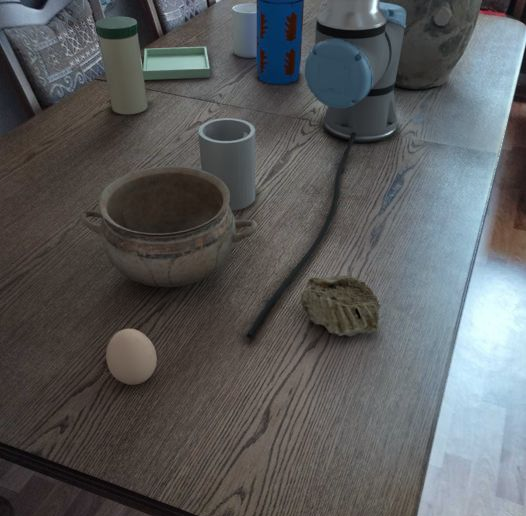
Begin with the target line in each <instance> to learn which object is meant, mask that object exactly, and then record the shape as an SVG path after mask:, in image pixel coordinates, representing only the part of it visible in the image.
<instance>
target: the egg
mask: <svg viewBox="0 0 526 516" xmlns="http://www.w3.org/2000/svg"><path fill="white" fill-rule="evenodd" d="M105 358H106V365H107V368H108V370H109V372H110V374H111V375H112V376H113V377H114V378H115V379H116V380H117V381H119V382H120V383H122V384H126V385H128V386H129V385H131V386H134V385H139V384H140V385H141V384H142V383H144V382H146V381H147V380H148V379H149V378H151V376H152V375H153V373H154V372H155V370H156V368H157V363H158V362H157V361H158V357H157V352H156V349H155V346H154V344H153V342H152V341H151V340H150V338H149V337H148V336H146V334H145V333H143V332H142V331H140V330H138V329H135V328H123V329H121V330H119V331H117V332H116V333H114V335H113V336H112V337H111V339H110V340H109V342H108V344H107V347H106V353H105Z"/></svg>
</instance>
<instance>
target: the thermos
mask: <svg viewBox="0 0 526 516" xmlns="http://www.w3.org/2000/svg"><path fill="white" fill-rule="evenodd" d="M256 4H257V57H256V76H257V79H259V81H261V82H263V83H265V84H266V83H267V84H272V85H284V84H286V85H287V84H291V83H294V82H296V81H298V79H299V78H300V71H301V63H302V62H301V61H302V47H303V46H302V45H303V44H302V43H303V26H304V25H303V24H304V10H305V9H304V8H305V0H256Z"/></svg>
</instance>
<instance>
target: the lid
mask: <svg viewBox="0 0 526 516" xmlns="http://www.w3.org/2000/svg"><path fill="white" fill-rule="evenodd" d="M95 33H96V34H97V35H96V36H98V35H99V36H100V37H103V38H110V39H120V38H127V37H131V36H133V35H135V34H137V33H138V34H139V25H138V21H137V20H136V19H135V18H133V17H129V16H123V15H122V16H108V17H104V18H100V19H97V21H95Z"/></svg>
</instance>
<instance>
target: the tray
mask: <svg viewBox="0 0 526 516" xmlns="http://www.w3.org/2000/svg"><path fill="white" fill-rule="evenodd" d="M143 52H144V53H143V66H142V68H143V75H144V81H151V80H152V81H153V80H155V81H157V80H177V79H178V80H179V79H205V78H211V67H210V61H209V55H208V50H207V46H187V47H183V46H182V47H160V48H159V47H155V48H153V47H152V48H144V51H143Z"/></svg>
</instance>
